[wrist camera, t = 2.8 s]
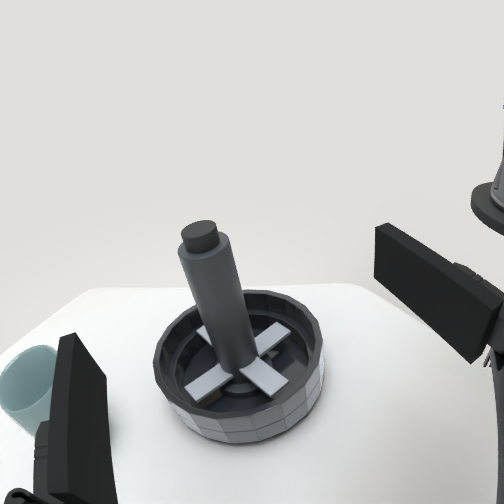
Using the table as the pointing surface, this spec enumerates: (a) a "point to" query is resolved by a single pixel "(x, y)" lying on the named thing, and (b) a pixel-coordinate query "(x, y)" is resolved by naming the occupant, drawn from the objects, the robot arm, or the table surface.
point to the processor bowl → (253, 408)
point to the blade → (226, 319)
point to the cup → (29, 387)
